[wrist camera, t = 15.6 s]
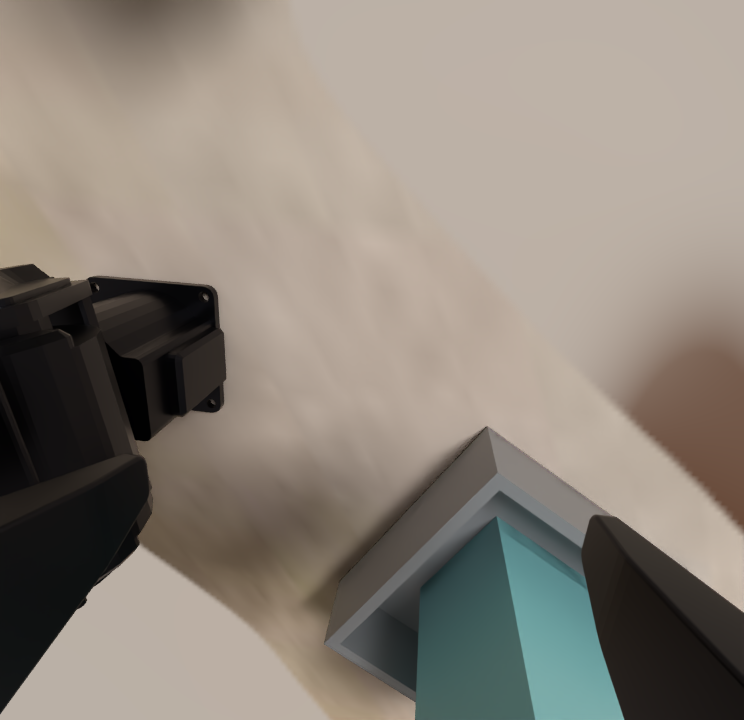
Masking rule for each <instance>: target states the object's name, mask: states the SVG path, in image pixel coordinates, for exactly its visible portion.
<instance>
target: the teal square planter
mask: <svg viewBox="0 0 744 720" xmlns="http://www.w3.org/2000/svg"><path fill="white" fill-rule="evenodd" d="M415 720H624V717H623V714H622V711H621V708H620V705H619V702H618V699H617V696H616V693H615V690H614V687H613V684H612V681H611V678H610V675H609V672H608V669H607V665H606V662H605V659H604V656H603V653H602V650H601V646H600V643H599V639H598V635H597V631H596V626H595V622H594V617H593V612H592V608H591V603H590V598H589V593H588V589H587V584H586V579H585V577H584V576H582V575H581V574H580V573H578V572H577V571H575V570H574V569H572V568H571V567H569V566H568V565H567V564H565V563H564V562H562V561H561V560H559V559H558V558H556V557H555V556H554V555H552V554H551V553H549V552H548V551H546V550H545V549H544V548H542V547H541V546H539V545H538V544H536V543H535V542H533V541H532V540H531V539H529V538H528V537H526V536H525V535H523V534H522V533H520V532H519V531H518V530H516V529H515V528H513V527H512V526H510V525H509V524H507V523H506V522H505V521H503V520H502V519H500V518H499V517H497V516H496V517H495V518H494V519H493V520H492V521H491V522H490V523H489V524H488V525H486V526H485V527H484V528H483V529H482V530H481V531H480V532H479V533H478V534H477V535H476V536H475V537H474V538H473V539H472V540H471V541H470V542H468V543H467V544H466V545H465V546H464V547H463V548H462V549H461V550H460V551H459V552H458V553H457V554H456V555H455V556H454V557H453V558H452V559H450V560H449V561H448V562H447V563H446V564H445V565H444V566H443V567H442V568H441V569H440V570H439V571H438V572H437V573H436V574H435V575H434V576H432V577H431V578H430V579H429V580H428V581H427V582H426V583H425V584H424V585H423V586H422V587H421V588H420V607H419V633H418V658H417V684H416V710H415Z"/></svg>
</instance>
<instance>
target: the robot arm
mask: <svg viewBox="0 0 744 720" xmlns="http://www.w3.org/2000/svg"><path fill="white" fill-rule="evenodd" d="M95 283H97V284H98V286H99V290H97V289H96V287H95ZM203 292H206V293H207V294H208V296H209V300H205V299H204V298H203ZM225 380H226V364H225V346H224V333H223V332H222V330H221V329H220V324H219V307H218V295H217V292H216V290H215V289H214V288H213V287H212V286H209V285H203V284H191V283H179V282H168V281H156V280H144V279H132V278H120V277H109V276H93V277H89V278H88V279H86V280H78V281H70V278H54V277H49V276H48V275H47V274H45V273H44V272H43V271H41V270H40V269H39V268H37V267H36V266H35V265H33V264H28V265H18V266H12V267H6V268H0V714H1V712H2V711H3V710H4V708H5V707H6V706H7V704H8V703H9V701H10V700H11V698H12V697H13V696H14V695H15V693H16V692H17V690H18V689H19V688H20V686H21V685H22V684H23V682H24V681H25V680H26V678H27V677H28V675H29V674H30V673H31V671H32V670H33V669H34V667H35V666H36V664H37V663H38V662H39V660H40V659H41V657H42V656H43V655H44V653H45V652H46V651H47V649H48V648H49V647H50V645H51V644H52V643H53V641H54V640H55V638H56V637H57V636H58V634H59V633H60V632H61V630H62V629H63V627H64V626H65V625H66V623H67V622H68V621H69V619H70V618H71V617H72V615H73V614H74V612H75V611H76V610H77V609H79V608H81V607H82V606H84V604H85V603H86V601H87V599H86V596H87V595H88V593H89V592H90V591H91V589H92V588H93V587H94V586H96V585H97V584H98V583H100V582H101V581H102V580H103V579H104V578H106V577H107V576H108V575H109V574H110V573H111V572H112V571H113V570H115V569H116V568H117V567H119V566H120V565H121V564H122V563H123V562H124V561H125V560H126V559H127V558H128V557H129V556H130V555H131V554H132V553H133V552H134V551H135V550H136V548H137V547H138V546H139V538H138V535H139V534H140V532H141V531H142V529H143V527H144V526H145V524H146V522H147V521H148V519H149V517H150V516H151V514H152V505H153V497H152V494H151V488H152V486H151V483H150V479H149V476H148V471H147V463H146V460H145V458H144V457H142V456H140V455H139V452H138V448H137V445H136V442H135V440H140V441H149V440H150V439H151V438H152V437H153V436H154V435H156V434H157V433H158V432H159V431H160V430H161V429H163V428H164V427H165V426H166V425H167V424H168V423H170V422H171V421H172V420H173V419H174V418H175V417H177V416H178V417H183V416H185V415H186V414H187V413H188V412H189V411H191V410H194V411H203V412H217V411H219V410H220V409H221V408H222V406H223V405H224V391H223V381H225ZM210 399H212V400H214V401H215V402H216V405H214V404H212V403H211V401H210ZM581 559H582V565H583V570H584V575H585V579H586V584H587V589H588V593H589V598H590V603H591V608H592V612H593V617H594V622H595V626H596V631H597V635H598V639H599V643H600V646H601V650H602V653H603V656H604V659H605V662H606V665H607V669H608V672H609V675H610V678H611V681H612V684H613V687H614V690H615V693H616V696H617V699H618V702H619V705H620V708H621V711H622V714H623V717H624V720H744V612H742V611H741V610H740V609H738V608H737V607H736V606H734V605H733V604H732V603H730V602H729V601H728V600H726V599H725V598H724V597H722V596H721V595H720V594H718V593H717V592H716V591H714V590H713V589H712V588H710V587H709V586H708V585H706V584H705V583H704V582H702V581H701V580H700V579H698V578H697V577H696V576H694V575H693V574H692V573H690V572H689V571H688V570H686V569H685V568H684V567H682V566H681V565H680V564H678V563H677V562H676V561H674V560H673V559H672V558H670V557H669V556H668V555H666V554H665V553H664V552H662V551H661V550H660V549H658V548H657V547H656V546H654V545H653V544H652V543H650V542H649V541H648V540H646V539H645V538H644V537H642V536H641V535H640V534H638V533H637V532H636V531H634V530H633V529H632V528H630V527H629V526H628V525H626V524H625V523H624V522H622V521H621V520H620V519H618V518H617V517H614V516H607V515H599V514H595V515H593V516H591V518H590V520H589V523H588V527H587V531H586V534H585V538H584V542H583V546H582V551H581Z"/></svg>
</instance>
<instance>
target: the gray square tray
mask: <svg viewBox="0 0 744 720" xmlns="http://www.w3.org/2000/svg"><path fill="white" fill-rule="evenodd" d="M595 514H599V515H607V516H611V515H610V514H609V513H607V512H606V511H604V510H603V509H602V508H600V507H599V506H598V505H596V504H595V503H593V502H592V501H591V500H589V499H588V498H586V497H585V496H584V495H582V494H581V493H579V492H578V491H577V490H575V489H574V488H573V487H571V486H570V485H568V484H567V483H566V482H564V481H563V480H561V479H560V478H559V477H557V476H556V475H554V474H553V473H552V472H550V471H549V470H548V469H546V468H545V467H543V466H542V465H541V464H539V463H538V462H536V461H535V460H534V459H532V458H531V457H529V456H528V455H527V454H525V453H524V452H523V451H521V450H520V449H518V448H517V447H516V446H514V445H513V444H511V443H510V442H509V441H507V440H506V439H504V438H503V437H502V436H500V435H499V434H498V433H496V432H495V431H493V430H492V429H491V428H489V427H488V426H487V427H486V428H485V429H484V430H483V432H482V433H481V434H480V435H479V436H478V437H477V438H476V439H475V440H474V441H473V442H472V443H471V444H470V445H469V446H468V447H467V448H466V449H465V450H464V451H463V453H462V454H461V455H460V456H459V457H458V458H457V459H456V460H455V461H454V462H453V463H452V464H451V465H450V466H449V467H448V468H447V469H446V470H445V471H444V472H443V474H442V475H441V476H440V477H439V478H438V479H437V480H436V481H435V482H434V483H433V484H432V485H431V486H430V487H429V488H428V489H427V490H426V491H425V492H424V493H423V495H422V496H421V497H420V498H419V499H418V500H417V501H416V502H415V503H414V504H413V505H412V506H411V507H410V508H409V509H408V510H407V511H406V512H405V513H404V514H403V516H402V517H401V518H400V519H399V520H398V521H397V522H396V523H395V524H394V525H393V526H392V527H391V528H390V529H389V530H388V531H387V532H386V533H385V534H384V535H383V537H382V538H381V539H380V540H379V541H378V542H377V543H376V544H375V545H374V546H373V547H372V548H371V549H370V550H369V551H368V552H367V553H366V554H365V555H364V556H363V558H362V559H361V560H360V561H359V562H358V563H357V564H356V565H355V566H354V567H353V568H352V569H351V570H350V571H349V572H348V573H347V574H346V575H345V576H344V577H343V579H342V580H341V581H340V582H339V585H338V589H337V593H336V597H335V601H334V605H333V609H332V613H331V617H330V621H329V625H328V629H327V633H326V637H325V641H324V645H326V646H328V647H329V648H331V649H332V650H334V651H335V652H337V653H339V654H340V655H342V656H343V657H345V658H347V659H348V660H350V661H351V662H353V663H354V664H356V665H358V666H359V667H361V668H362V669H364V670H365V671H367V672H369V673H370V674H372V675H373V676H375V677H376V678H378V679H380V680H381V681H383V682H384V683H386V684H388V685H389V686H391V687H392V688H394V689H395V690H397V691H399V692H400V693H402V694H403V695H405V696H406V697H408V698H410V699H411V700H413V701H414V702H416V684H417V658H418V633H419V607H420V588H421V587H422V586H423V585H424V584H425V583H426V582H427V581H428V580H429V579H430V578H431V577H432V576H434V575H435V574H436V573H437V572H438V571H439V570H440V569H441V568H442V567H443V566H444V565H445V564H446V563H447V562H448V561H449V560H450V559H452V558H453V557H454V556H455V555H456V554H457V553H458V552H459V551H460V550H461V549H462V548H463V547H464V546H465V545H466V544H467V543H468V542H470V541H471V540H472V539H473V538H474V537H475V536H476V535H477V534H478V533H479V532H480V531H481V530H482V529H483V528H484V527H485V526H486V525H488V524H489V523H490V522H491V521H492V520H493V519H494V518H495V517H496V516H497V517H499V518H500V519H502V520H503V521H505V522H506V523H507V524H509V525H510V526H512V527H513V528H515V529H516V530H518V531H519V532H520V533H522V534H523V535H525V536H526V537H528V538H529V539H531V540H532V541H533V542H535V543H536V544H538V545H539V546H541V547H542V548H544V549H545V550H546V551H548V552H549V553H551V554H552V555H554V556H555V557H556V558H558V559H559V560H561V561H562V562H564V563H565V564H567V565H568V566H569V567H571V568H572V569H574V570H575V571H577V572H578V573H580V574H581V575H582V576H584V577H585V575H584V570H583V565H582V559H581V551H582V546H583V542H584V538H585V534H586V531H587V527H588V523H589V520H590V518H591V516H593V515H595Z"/></svg>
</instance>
